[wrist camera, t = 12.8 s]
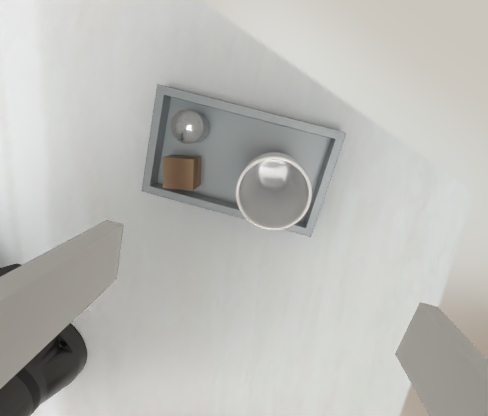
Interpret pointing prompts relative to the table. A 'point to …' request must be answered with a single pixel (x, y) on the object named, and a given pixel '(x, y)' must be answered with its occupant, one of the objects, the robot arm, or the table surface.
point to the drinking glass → (273, 191)
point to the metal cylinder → (189, 126)
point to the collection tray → (237, 151)
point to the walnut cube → (181, 172)
